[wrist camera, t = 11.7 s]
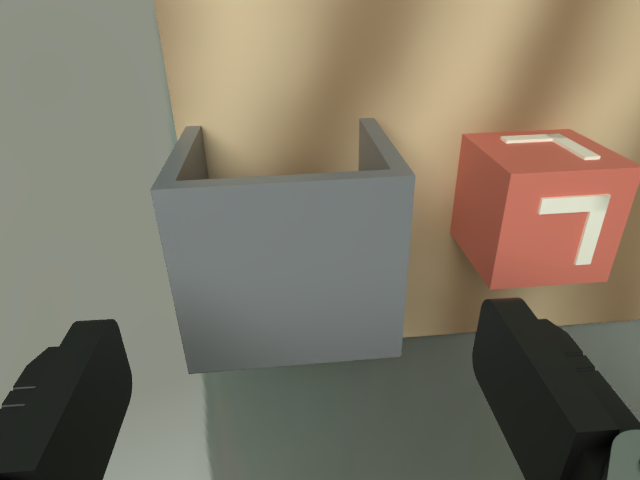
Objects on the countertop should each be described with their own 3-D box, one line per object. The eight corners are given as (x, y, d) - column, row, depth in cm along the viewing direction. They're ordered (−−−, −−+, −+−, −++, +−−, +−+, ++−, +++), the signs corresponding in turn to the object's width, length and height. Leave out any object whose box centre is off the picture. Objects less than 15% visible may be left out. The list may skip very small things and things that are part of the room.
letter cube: (570, 126, 17) (647, 165, 14) (546, 226, 19) (608, 283, 16) (462, 130, 17) (513, 172, 14) (449, 232, 19) (491, 291, 16)
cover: (373, 117, 17) (415, 175, 12) (369, 262, 19) (401, 356, 15) (185, 126, 16) (150, 189, 11) (209, 273, 19) (188, 373, 14)
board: (861, -27, 17) (893, -27, 16) (710, 300, 23) (727, 312, 23) (158, -10, 15) (152, -10, 14) (215, 336, 22) (212, 351, 21)
